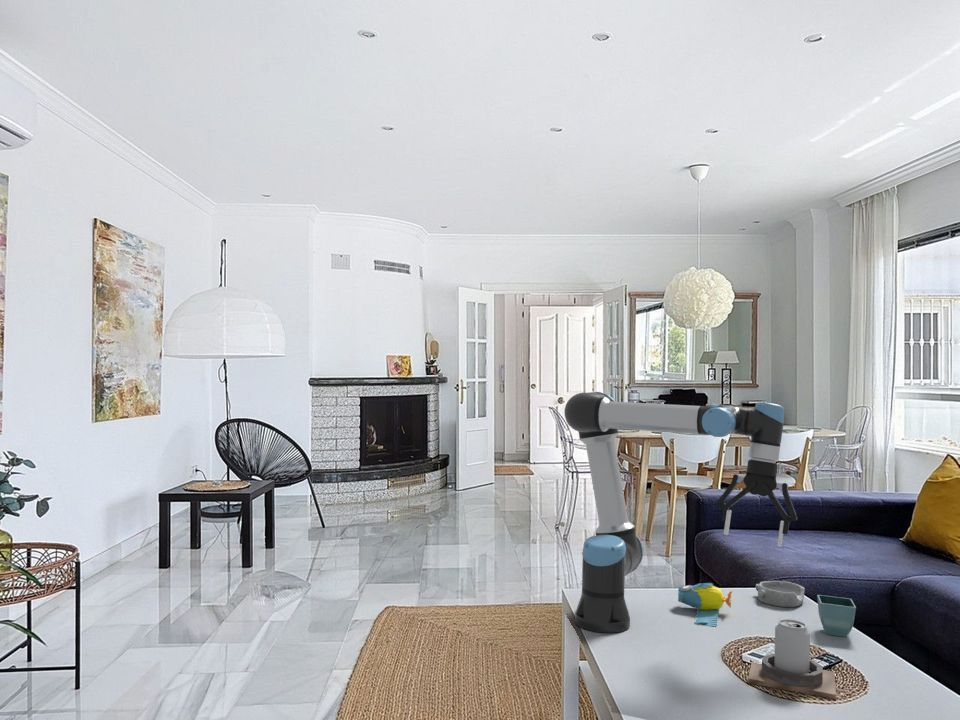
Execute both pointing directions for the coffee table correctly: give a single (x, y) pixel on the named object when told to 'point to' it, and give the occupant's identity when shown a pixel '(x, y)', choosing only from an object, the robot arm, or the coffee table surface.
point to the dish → (780, 593)
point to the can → (792, 646)
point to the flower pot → (836, 614)
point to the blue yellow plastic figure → (704, 601)
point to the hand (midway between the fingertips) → (752, 540)
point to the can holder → (793, 678)
